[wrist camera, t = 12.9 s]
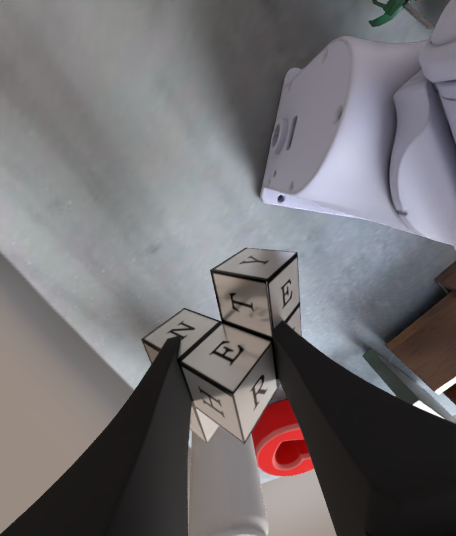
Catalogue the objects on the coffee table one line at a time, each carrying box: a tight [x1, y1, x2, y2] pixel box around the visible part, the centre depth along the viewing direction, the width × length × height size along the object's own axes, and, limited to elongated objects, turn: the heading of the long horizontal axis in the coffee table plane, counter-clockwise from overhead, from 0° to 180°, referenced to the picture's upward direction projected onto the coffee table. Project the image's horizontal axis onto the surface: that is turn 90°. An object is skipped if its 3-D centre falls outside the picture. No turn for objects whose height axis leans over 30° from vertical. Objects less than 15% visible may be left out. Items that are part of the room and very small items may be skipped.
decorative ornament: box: [251, 400, 314, 476], centre depth 27 cm, size 10×10×3 cm
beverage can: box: [188, 426, 269, 536], centre depth 18 cm, size 5×5×12 cm
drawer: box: [363, 291, 456, 424], centre depth 22 cm, size 16×12×6 cm
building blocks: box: [141, 248, 302, 445], centre depth 11 cm, size 5×5×8 cm
